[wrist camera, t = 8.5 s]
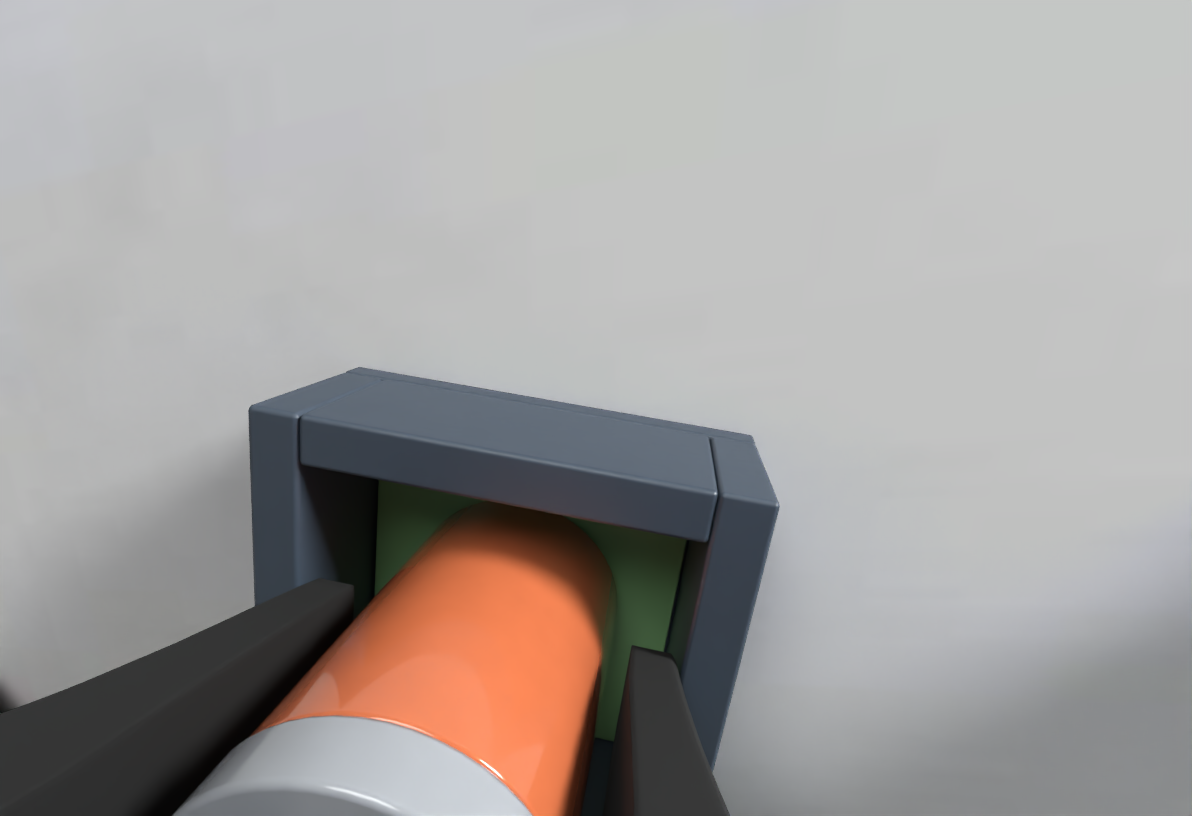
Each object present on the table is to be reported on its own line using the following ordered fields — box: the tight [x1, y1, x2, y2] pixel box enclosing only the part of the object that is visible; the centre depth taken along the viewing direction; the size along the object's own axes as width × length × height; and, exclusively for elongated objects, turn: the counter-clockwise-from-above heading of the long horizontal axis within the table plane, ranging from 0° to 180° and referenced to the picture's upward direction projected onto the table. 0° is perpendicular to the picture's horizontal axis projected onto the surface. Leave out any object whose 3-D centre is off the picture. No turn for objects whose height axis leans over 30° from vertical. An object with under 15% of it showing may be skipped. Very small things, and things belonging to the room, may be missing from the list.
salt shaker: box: [172, 501, 618, 816], centre depth 8 cm, size 4×4×6 cm
